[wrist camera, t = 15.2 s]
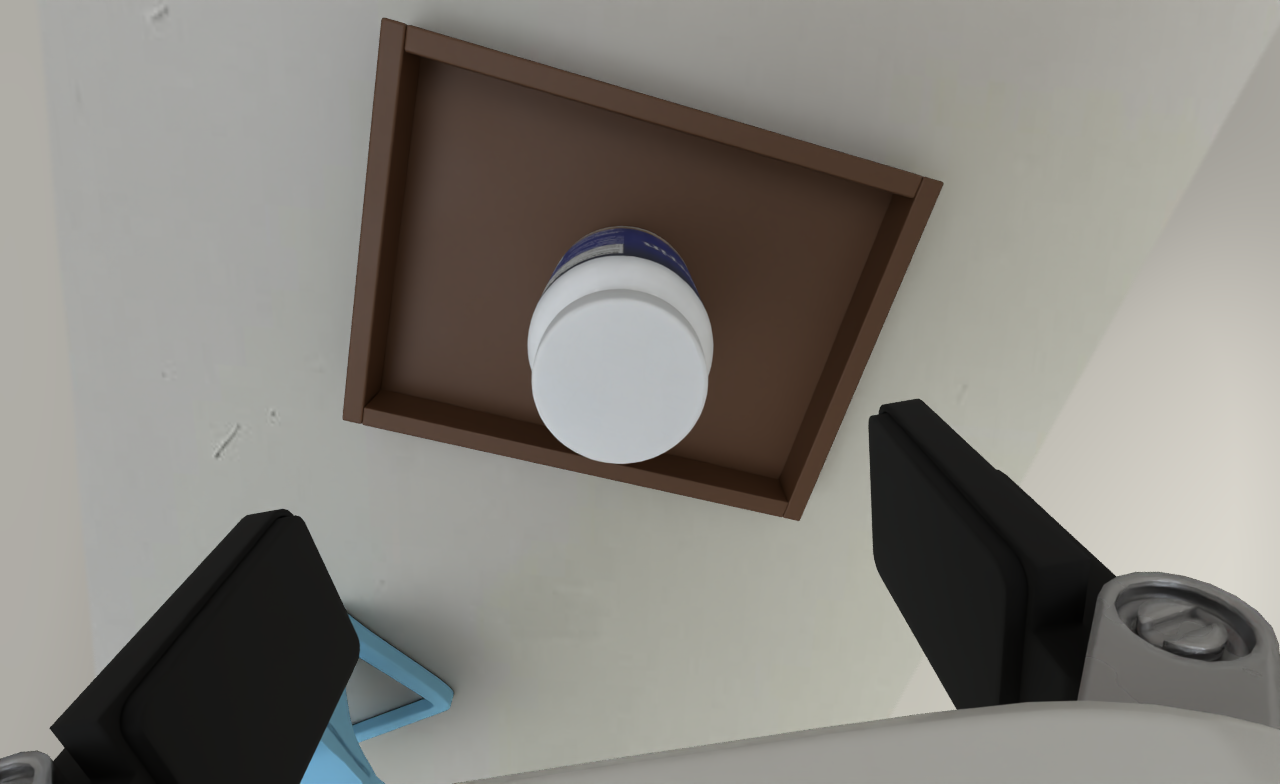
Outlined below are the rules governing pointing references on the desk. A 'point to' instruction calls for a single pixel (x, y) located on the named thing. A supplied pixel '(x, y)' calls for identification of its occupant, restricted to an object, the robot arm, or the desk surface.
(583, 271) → the pill bottle
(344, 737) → the chair
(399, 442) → the desk surface
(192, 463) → the desk surface
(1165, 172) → the desk surface
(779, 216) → the tray
